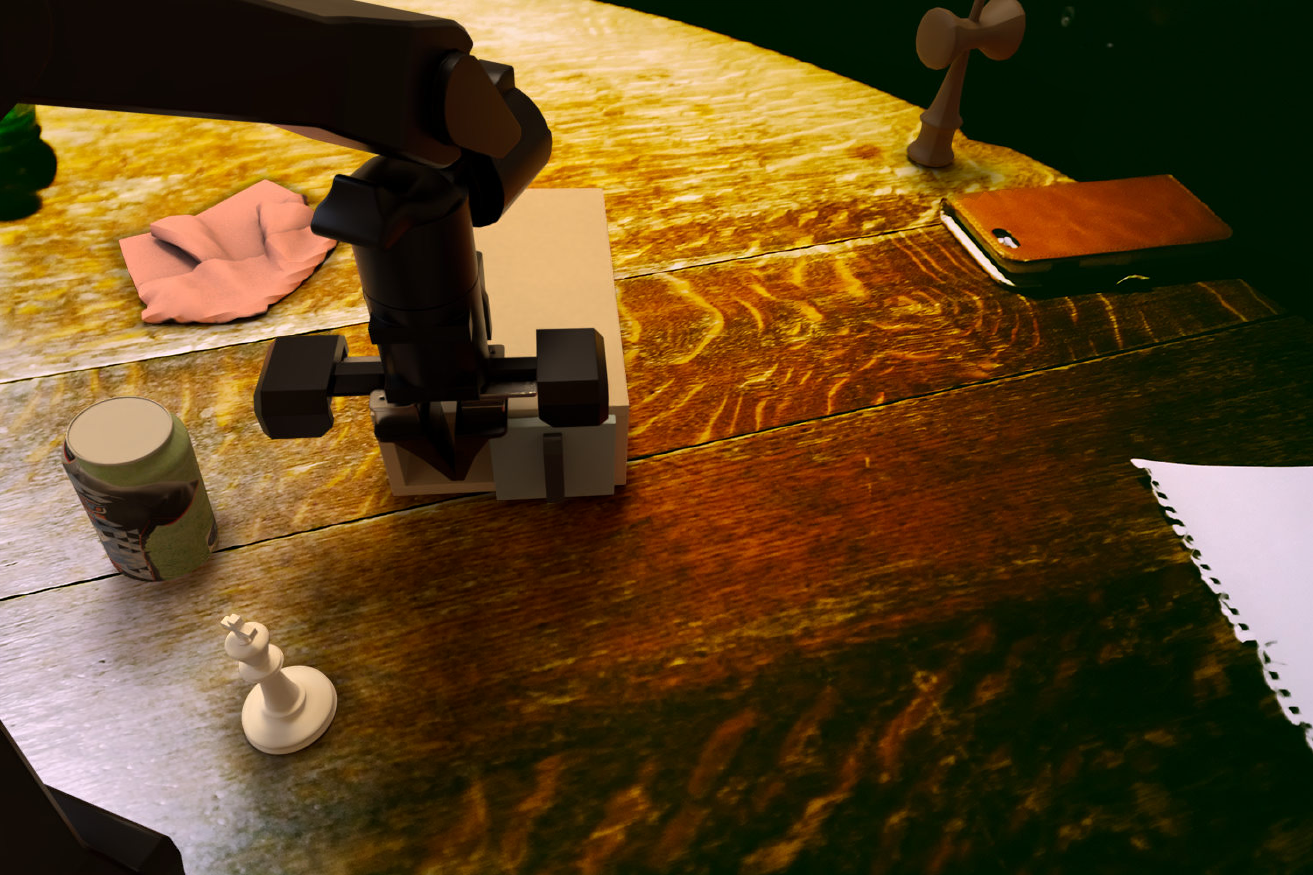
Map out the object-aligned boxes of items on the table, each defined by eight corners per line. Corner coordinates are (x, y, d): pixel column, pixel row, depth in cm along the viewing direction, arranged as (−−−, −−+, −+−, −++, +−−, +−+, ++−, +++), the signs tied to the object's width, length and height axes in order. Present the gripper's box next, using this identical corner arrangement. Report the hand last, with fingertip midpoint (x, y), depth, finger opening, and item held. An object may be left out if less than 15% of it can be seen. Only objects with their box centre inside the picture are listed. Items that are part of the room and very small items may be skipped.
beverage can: (136, 515, 54) (47, 383, 45) (253, 509, 55) (188, 379, 46) (104, 598, 50) (-1, 470, 41) (231, 590, 51) (155, 463, 42)
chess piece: (299, 768, 44) (239, 683, 36) (223, 733, 45) (151, 643, 37) (355, 688, 47) (311, 595, 40) (283, 657, 48) (227, 560, 41)
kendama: (978, 164, 92) (1051, -30, 78) (911, 180, 89) (974, -20, 74) (944, 139, 96) (1007, -51, 81) (878, 154, 93) (931, -42, 78)
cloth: (126, 348, 65) (113, 324, 63) (117, 205, 78) (105, 182, 76) (388, 290, 71) (382, 267, 70) (339, 168, 84) (333, 146, 83)
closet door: (616, 515, 56) (618, 444, 50) (496, 521, 55) (486, 450, 50) (613, 485, 57) (615, 414, 52) (497, 491, 57) (487, 419, 51)
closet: (625, 484, 58) (629, 405, 52) (393, 496, 56) (369, 415, 50) (602, 266, 76) (602, 187, 70) (423, 269, 74) (409, 189, 68)
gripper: (597, 187, 47) (596, 383, 59) (259, 190, 45) (327, 392, 57) (611, 309, 40) (607, 506, 51) (207, 319, 38) (297, 522, 49)
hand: (458, 475), depth 52 cm, fingers closed
